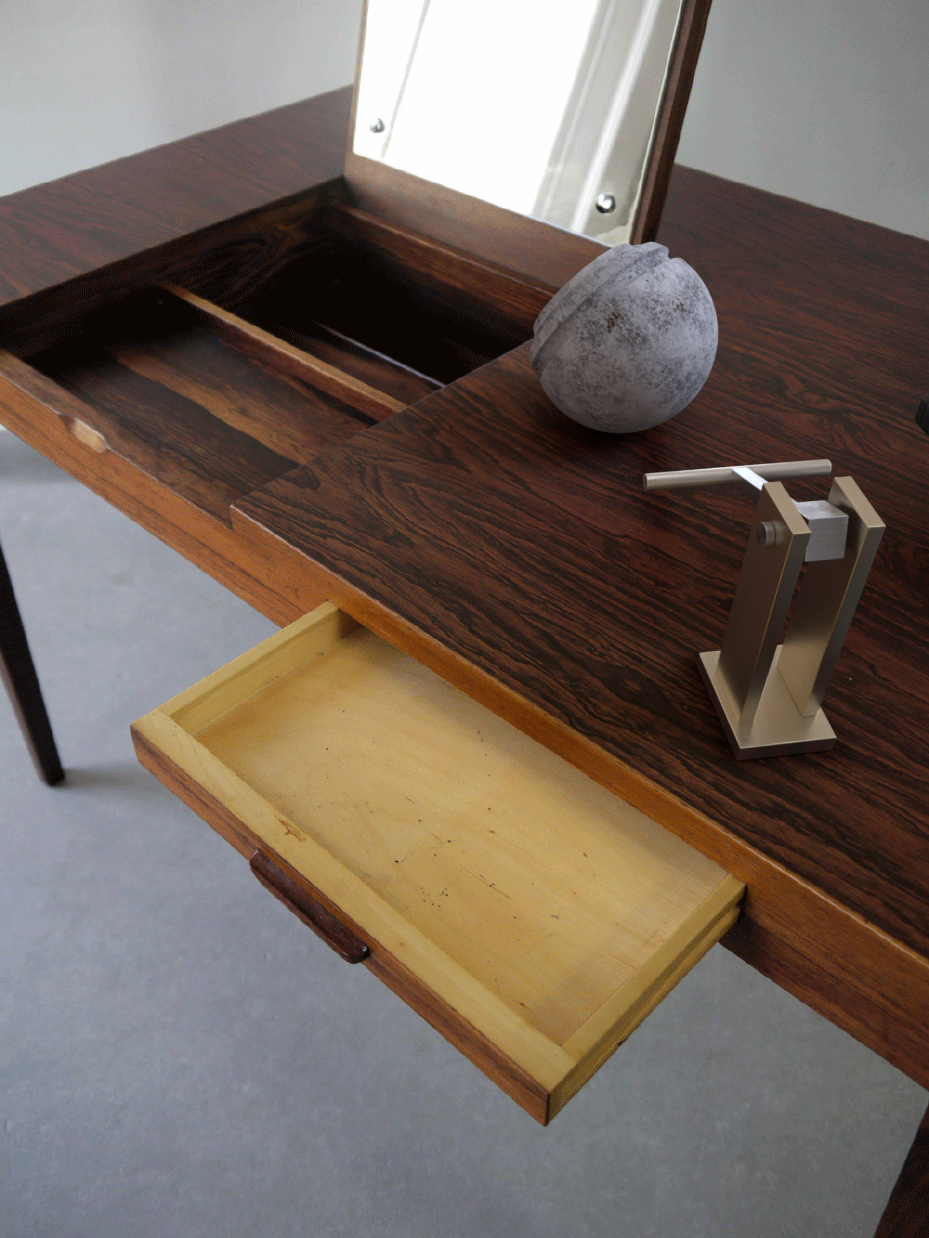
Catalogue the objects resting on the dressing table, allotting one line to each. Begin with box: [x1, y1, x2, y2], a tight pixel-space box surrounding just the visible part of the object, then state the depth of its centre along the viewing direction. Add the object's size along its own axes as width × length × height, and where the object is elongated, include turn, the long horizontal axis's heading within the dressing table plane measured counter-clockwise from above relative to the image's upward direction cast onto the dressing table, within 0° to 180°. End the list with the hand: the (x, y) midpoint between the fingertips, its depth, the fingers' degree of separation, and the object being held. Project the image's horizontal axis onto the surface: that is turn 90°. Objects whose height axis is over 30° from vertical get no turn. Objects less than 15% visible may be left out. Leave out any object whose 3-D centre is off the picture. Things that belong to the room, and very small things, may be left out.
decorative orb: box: [528, 241, 719, 434], centre depth 84 cm, size 15×14×15 cm
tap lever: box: [642, 458, 849, 563], centre depth 61 cm, size 13×12×2 cm
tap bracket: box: [695, 475, 886, 762], centre depth 60 cm, size 8×6×16 cm
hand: (923, 415), depth 65 cm, fingers closed
